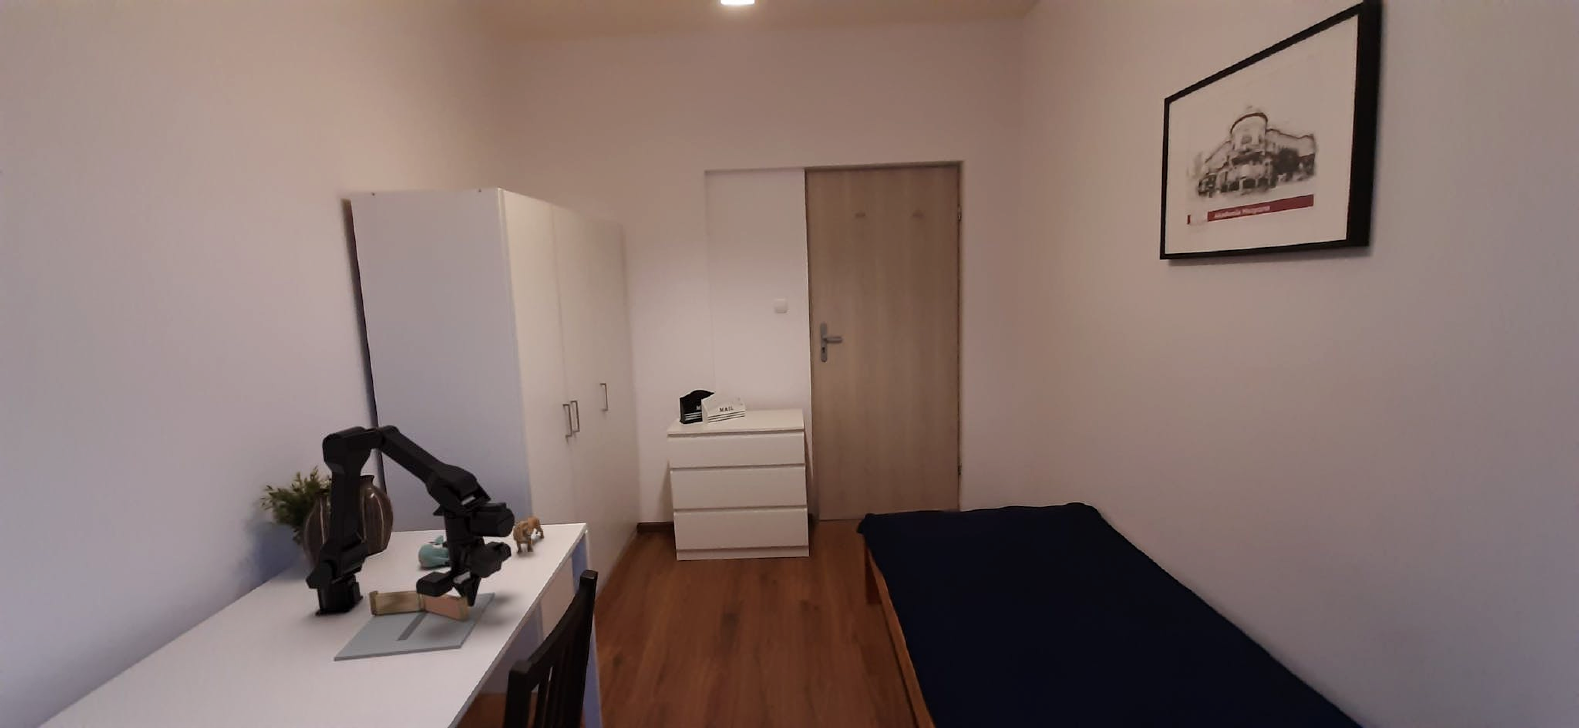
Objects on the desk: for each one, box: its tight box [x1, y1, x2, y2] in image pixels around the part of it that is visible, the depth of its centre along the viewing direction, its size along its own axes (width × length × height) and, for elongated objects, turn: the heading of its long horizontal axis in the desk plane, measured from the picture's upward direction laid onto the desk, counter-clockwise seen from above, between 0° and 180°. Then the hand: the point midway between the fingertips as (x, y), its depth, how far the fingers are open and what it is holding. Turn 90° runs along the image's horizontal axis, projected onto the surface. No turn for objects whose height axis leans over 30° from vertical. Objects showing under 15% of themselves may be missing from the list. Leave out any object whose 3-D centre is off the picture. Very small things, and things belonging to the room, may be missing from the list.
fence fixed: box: [368, 589, 422, 616], centre depth 131 cm, size 10×2×4 cm, turn 97°
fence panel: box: [421, 593, 469, 621], centre depth 130 cm, size 13×2×4 cm, turn 66°
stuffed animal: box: [417, 534, 449, 568], centre depth 157 cm, size 11×7×12 cm
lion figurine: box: [512, 516, 545, 555], centre depth 163 cm, size 15×5×9 cm, turn 10°
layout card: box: [333, 592, 496, 661], centre depth 128 cm, size 22×20×1 cm
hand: (471, 606), depth 131 cm, fingers closed
